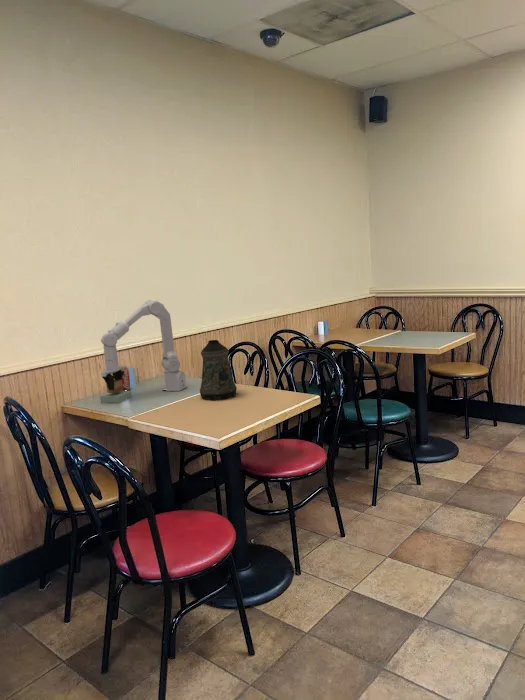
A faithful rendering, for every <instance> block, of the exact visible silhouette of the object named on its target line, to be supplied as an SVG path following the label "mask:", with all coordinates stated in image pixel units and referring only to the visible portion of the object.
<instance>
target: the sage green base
mask: <svg viewBox="0 0 525 700" xmlns="http://www.w3.org/2000/svg"><path fill="white" fill-rule="evenodd" d="M132 395H133V394H132V391H131V390H128V391H120V392H118V393H108V392H107V393H104V394H102V395H100V397H99V398H100V403H103V404H105V403H106V404H107V403H108V404H120V403H123V402H125V401H126V399H127V400H129V399H131V398H133V396H132ZM124 400H125V401H124ZM122 401H123V402H122Z"/></svg>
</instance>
